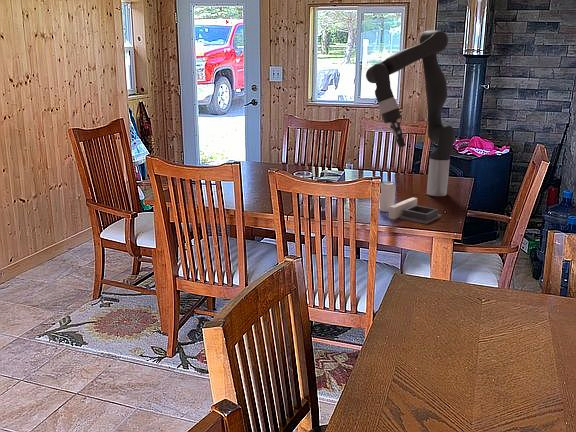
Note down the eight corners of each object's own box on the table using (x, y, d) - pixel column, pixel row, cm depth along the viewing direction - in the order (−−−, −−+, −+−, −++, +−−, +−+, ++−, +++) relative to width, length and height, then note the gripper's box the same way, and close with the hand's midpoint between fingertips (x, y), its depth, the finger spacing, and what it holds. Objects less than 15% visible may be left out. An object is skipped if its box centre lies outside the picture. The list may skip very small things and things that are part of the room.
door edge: (411, 208, 249) (412, 197, 247) (416, 209, 247) (417, 198, 246) (388, 218, 234) (389, 206, 232) (393, 219, 232) (394, 207, 231)
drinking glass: (336, 208, 248) (337, 180, 244) (327, 213, 239) (328, 185, 236) (315, 204, 252) (316, 178, 249) (305, 210, 244) (306, 182, 240)
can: (393, 212, 242) (395, 185, 238) (378, 211, 243) (379, 184, 240) (394, 208, 248) (395, 181, 244) (378, 207, 249) (380, 180, 246)
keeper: (415, 211, 245) (415, 203, 244) (441, 216, 237) (442, 208, 236) (399, 218, 234) (399, 210, 233) (426, 224, 227) (426, 216, 226)
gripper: (399, 106, 235) (412, 143, 236) (396, 108, 249) (408, 143, 251) (382, 112, 236) (395, 149, 238) (380, 114, 250) (392, 149, 252)
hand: (402, 146), depth 244 cm, fingers open, 8 cm apart
